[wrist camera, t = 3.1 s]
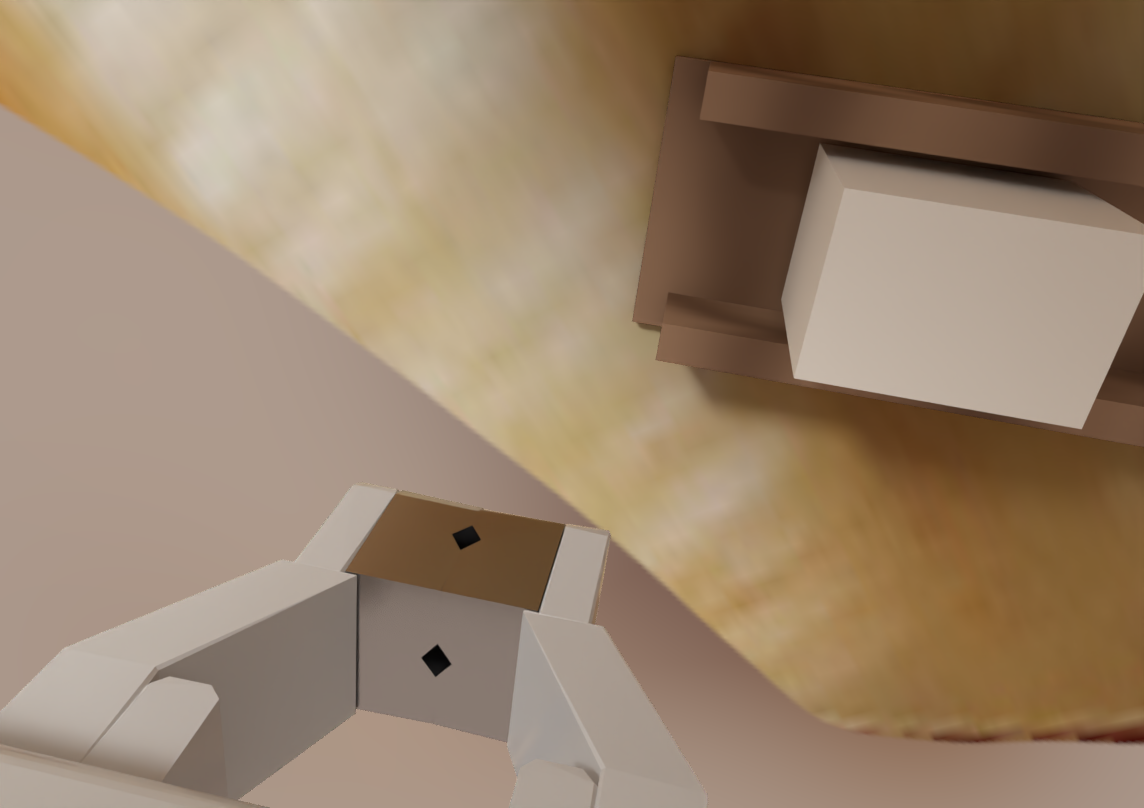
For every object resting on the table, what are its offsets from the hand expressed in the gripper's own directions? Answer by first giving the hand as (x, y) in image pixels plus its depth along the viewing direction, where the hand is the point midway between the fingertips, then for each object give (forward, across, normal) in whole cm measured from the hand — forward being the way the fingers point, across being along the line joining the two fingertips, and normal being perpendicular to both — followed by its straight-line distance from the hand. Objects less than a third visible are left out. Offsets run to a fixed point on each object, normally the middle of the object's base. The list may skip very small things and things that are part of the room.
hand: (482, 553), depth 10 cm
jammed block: (+18, -8, 0) cm, 20 cm away
